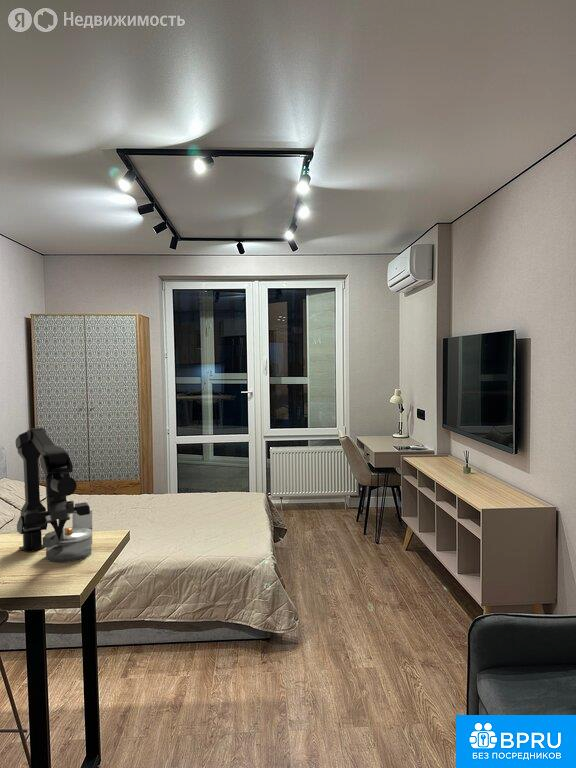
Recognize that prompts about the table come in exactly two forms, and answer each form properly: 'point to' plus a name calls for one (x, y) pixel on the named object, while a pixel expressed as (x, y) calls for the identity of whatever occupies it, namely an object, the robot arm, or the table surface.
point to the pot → (69, 551)
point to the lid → (67, 536)
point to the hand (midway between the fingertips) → (59, 539)
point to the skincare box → (82, 521)
